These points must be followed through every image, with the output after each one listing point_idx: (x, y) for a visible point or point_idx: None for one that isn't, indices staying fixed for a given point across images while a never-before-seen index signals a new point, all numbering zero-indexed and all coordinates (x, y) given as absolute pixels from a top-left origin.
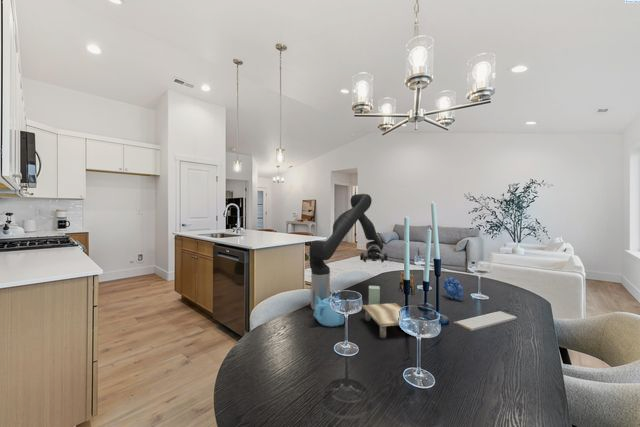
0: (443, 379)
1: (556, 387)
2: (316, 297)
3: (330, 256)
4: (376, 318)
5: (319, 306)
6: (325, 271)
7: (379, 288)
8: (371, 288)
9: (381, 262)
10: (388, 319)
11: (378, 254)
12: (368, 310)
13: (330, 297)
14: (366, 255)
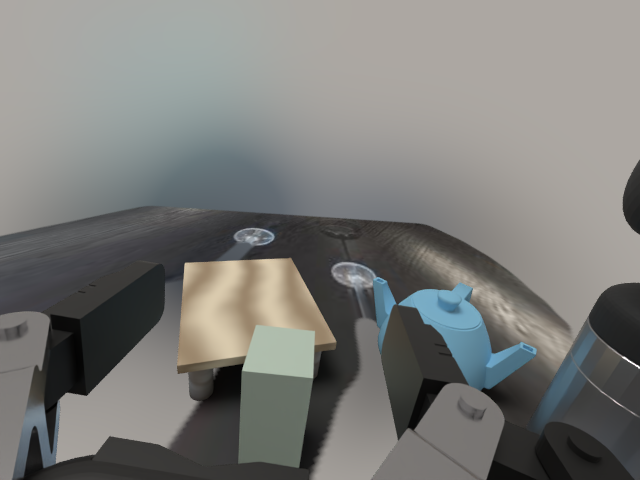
0: (224, 232)
1: (86, 219)
2: (529, 346)
3: (634, 208)
4: (295, 274)
5: (457, 285)
6: (599, 298)
7: (255, 333)
8: (301, 332)
9: (159, 316)
10: (265, 270)
11: (29, 408)
12: (314, 307)
13: (451, 291)
14: (440, 441)
